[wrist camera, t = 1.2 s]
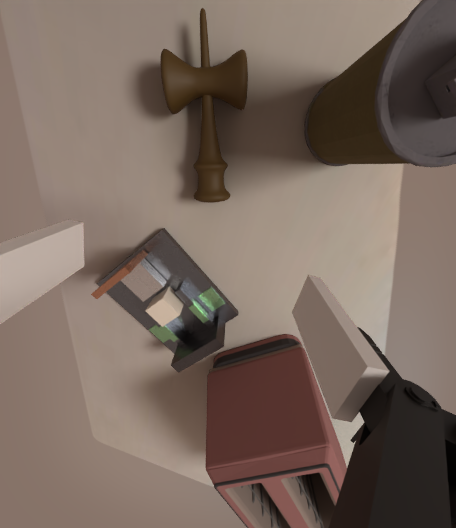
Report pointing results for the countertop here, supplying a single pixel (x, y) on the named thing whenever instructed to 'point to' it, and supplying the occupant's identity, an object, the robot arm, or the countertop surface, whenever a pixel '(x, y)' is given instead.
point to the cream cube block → (165, 306)
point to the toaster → (272, 437)
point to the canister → (393, 97)
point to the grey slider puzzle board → (190, 292)
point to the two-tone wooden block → (135, 278)
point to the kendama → (206, 105)
